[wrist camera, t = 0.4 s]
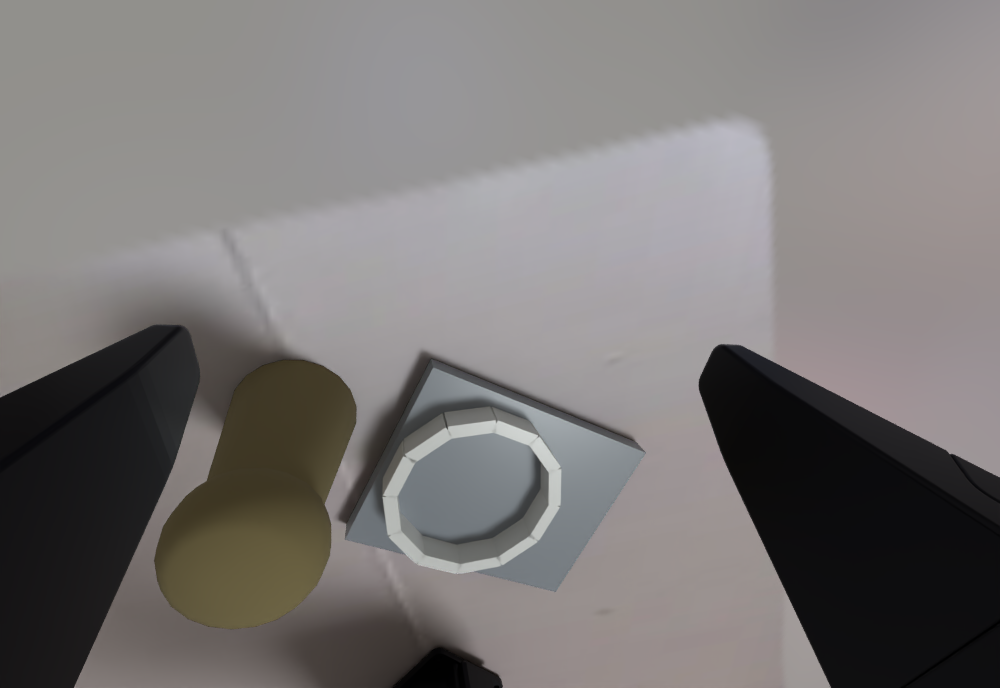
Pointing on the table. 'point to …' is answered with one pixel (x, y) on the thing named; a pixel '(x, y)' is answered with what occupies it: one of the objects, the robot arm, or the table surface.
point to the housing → (490, 482)
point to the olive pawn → (260, 501)
